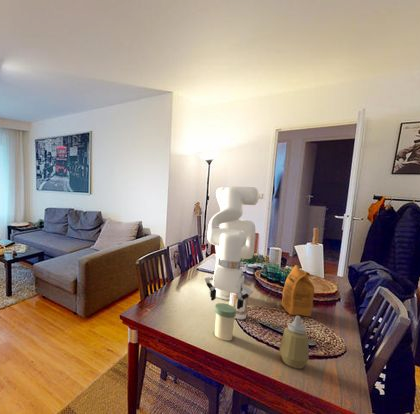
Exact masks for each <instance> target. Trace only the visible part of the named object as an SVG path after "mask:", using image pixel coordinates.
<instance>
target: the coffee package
mask: <svg viewBox="0 0 420 414" xmlns="http://www.w3.org/2000/svg"><path fill="white" fill-rule="evenodd" d="M310 275H311V273H310V272H308V271H305V270H302V269H301V267H300V266H299V265H298V264H295V265H294V267H293V268H292V269H291V271H290V272H289V274H287V277H286V279H285V283H284V285H283V290H282V299H281V307H283V309H284V311H285V312H287V314H289V315H291V316H303V317H312V311H313V307H314V295H315V286H314V285H313V283H312V281H311V280H310V278H309V276H310Z"/></svg>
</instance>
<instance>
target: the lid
mask: <svg viewBox="0 0 420 414" xmlns="http://www.w3.org/2000/svg"><path fill="white" fill-rule="evenodd" d="M214 312H215V314H216V313H217V314H218V315H220V316H222V317H226V318H234V317H235V316H236V309H235V308H234V307H233V306H231V305H229V303H224V302H223V303H222V302H220V303H219V302H218V303H216V304H215V305H214ZM234 319H235V318H234Z"/></svg>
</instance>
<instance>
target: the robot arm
mask: <svg viewBox="0 0 420 414" xmlns="http://www.w3.org/2000/svg"><path fill="white" fill-rule="evenodd" d="M215 196H216V200H217V203H218V206H219V210H220V211H218V212H216V213H215V214H214V215H213V216H212V217H211V218H210V220H209V222H208V226H207V234H206V235H207V236H206V238H207V242H208V243H209V244H210V245H213V246H214V249H215V268H214V272H213V276H208V277H205V278H204V282H205V284H206V286H207V287H208V289H209V291H210V294H209V297H210V300H211V301H212V302H213V301H215V300H216V299H217V298H218V299H221V300H225V301H230V293H234V294H236V295H237V296H238V298H239V299H238V302H237V309H240V308H241V307H243V301H244V299H245V298H247V297H248V298H249V297H250V296H251V295H252V293H253V290H252V289H251V288H250V287H248V286H247V285H246V284H245V283H244V284H243V276H244V271H243V268H244V267H245V263H243V262H242V260H251V259H253V257H254V253H255V244H256V243H255V242H256V225H255V223H254V221H252V220H249V219H240V218H241V217H242V216H243V214H244V212H243V206H256V205H257V204H258V202H259V200H260V199H259V198H260V194H259V191H258V189H257V188H256V187H255V186H221V187H218V188H217V189H216V191H215ZM217 226H219V227H217ZM211 281H212V283H211ZM243 289H244V290H245V291H246V292H247V293H246V294H243V293H242V292H241V291H243Z"/></svg>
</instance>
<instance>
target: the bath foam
mask: <svg viewBox="0 0 420 414" xmlns="http://www.w3.org/2000/svg"><path fill="white" fill-rule="evenodd" d="M243 284H244V285H245V275H243ZM241 292H242V293H243V294H246V293H247V292H246V291H245V290H244V289H243V291H241ZM238 299H239V298H238V296H237V295H236V294H234V293H230V300H229V303H228V305H231V306H233V307H234V308H235V309H236V316H235V317H234V319H236V320H245V319H246V318H247V311H248V302H249V301H248V300H249V297H247V298H245V299H244V301H243V307H241V308H240V309H237V302H238Z"/></svg>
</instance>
